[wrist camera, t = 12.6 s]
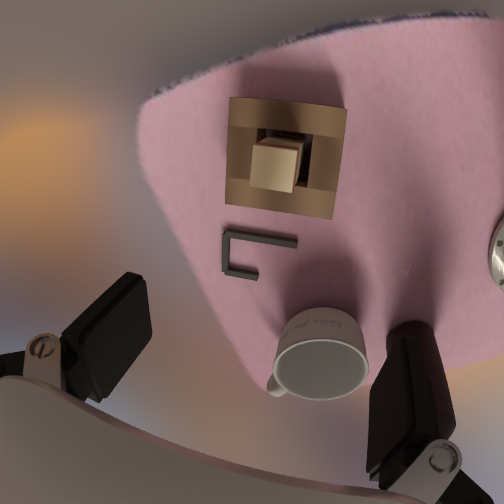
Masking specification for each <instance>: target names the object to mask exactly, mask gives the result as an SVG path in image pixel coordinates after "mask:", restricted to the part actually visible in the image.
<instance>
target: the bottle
mask: <svg viewBox="0 0 504 504" xmlns="http://www.w3.org/2000/svg"><path fill="white" fill-rule="evenodd" d="M403 335H406V336H412V337H418V338H419V341H420V345H421V350H422V355H423V360H424V366H425V371H426V376H429V377H430V378H431V381H432V387H433V393H434V399H435V405H436V412H437V420H438V428H439V437H440V439H445V440H448V439H449V437H450V436H451V434H452V433H453V431H454V429H455V427H456V420H455V415H454V410H453V405H452V401H451V397H450V392H449V388H448V383H447V379H446V375H445V372H444V368H443V364H442V360H441V357H440V353H439V350H438V346H437V343H436V339H435V336H434V333H433V330H432V328H431V327H430V326H429V325H428V324H426V323H424V322H422V321H409V322H406V323H403V324H401V325H399V326H397V327H396V328H395V329H393V330H392V332H391V333H390V334H389V336H388V338H387V341H386V350H387V357H388V355H389V353H390V351H391V349H392V347H393V345H394V343H395V341H396V339H397V338H399V339H401V337H402V336H403Z"/></svg>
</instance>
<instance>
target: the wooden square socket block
mask: <svg viewBox="0 0 504 504" xmlns="http://www.w3.org/2000/svg"><path fill="white" fill-rule="evenodd" d="M346 117H347V109H345V108H339V107H332V106H326V105H318V104H311V103H302V102H293V101H284V100H272V99H259V98H242V97H230V102H229V121H228V141H227V163H226V188H225V204H229V205H237V206H244V207H251V208H258V209H265V210H272V211H279V212H285V213H292V214H298V215H305V216H311V217H317V218H323V219H329V220H332V216H333V210H334V204H335V197H336V191H337V185H338V178H339V171H340V164H341V157H342V150H343V142H344V134H345V126H346ZM267 129H274V130H283V131H292V132H300V133H308V134H313V141H312V151H311V159H310V168H309V176H304V175H299V177H298V179H297V181H296V184H295V186H294V189H293V191H292V193H288V192H282V191H276V190H270V189H263V188H257V187H250V176H251V165H252V154H253V145H254V144H255V143H257V142H259V141H261V140H263V139H265V138H266V132H267Z"/></svg>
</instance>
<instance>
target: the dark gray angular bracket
mask: <svg viewBox="0 0 504 504" xmlns="http://www.w3.org/2000/svg"><path fill="white" fill-rule="evenodd" d="M230 238H234V239H241V240H247V241H253V242H259V243H265V244H271V245H277V246H283V247H290V248H297V243H298V240H294V239H288V238H282V237H275V236H269V235H263V234H257V233H250V232H244V231H237V230H231V229H227V230H226V231H224V233H223V235H222V272H225V273H224V275H228V276H233V277H239V278H244V279H250V280H255V281H257V280H258V276H259V273H257V272H251V271H246V270H240V269H235V268H229V256H230Z"/></svg>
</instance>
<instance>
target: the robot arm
mask: <svg viewBox="0 0 504 504" xmlns="http://www.w3.org/2000/svg"><path fill="white" fill-rule="evenodd" d="M488 261H489V270H490V273H491V276H492V278H493V280H494V282H495V283H496V285H497V286H498V287H499V288H500V289H501V290H502V291H503V292H504V217H503V218H502V220H501V221H500V223H499V224H498V226H497V228H496V230H495V232H494V235H493V238H492V240H491V244H490V249H489V258H488ZM61 334H62V336H61V337H60V338H58V337H57V336H55V335H54V334H50V333H43V334H39V335H37V336H35V337H34V338H32V339H31V340H30V341H29V343H28V344H27V347H26V350H25V351H20V352H14V353H8V354H2V355H0V504H494V502H493V500H492V498H491V497H490V496H489V495H488V494H487V493H486V492H485V491H484V490H482V489H481V488H480V487H479V486H478V485H477V484H476V483H475V482H474V481H473V480H471V479H470V478H469V477H468V476H467V475H466V474H465V473H464V472H463V471H462V470H461V469H460V467H461V465H462V455H461V452H460V450H459V448H458V447H457V446H456V445H455V444H454V443H452V442H451V441H448V440H445V439H440V437H439V428H438V420H437V412H436V405H435V399H434V393H433V387H432V381H431V378H430V377H429V376H426V371H425V366H424V360H423V355H422V350H421V345H420V341H419V338H418V337H412V336H406V335H403V336H402V337H401V339H399V338H397V339H396V341H395V343H394V345H393V347H392V349H391V351H390V353H389V355H388V357H387V359H386V361H385V362H384V364H383V366H382V368H381V370H380V372H379V374H378V376H377V378H376V379H375V381H374V383H373V385H372V387H371V390H370V396H369V430H368V449H367V463H366V472H367V473H370V481H379V488H380V490H378V489H370V488H364V487H355V486H347V485H339V484H332V483H325V482H319V481H313V480H307V479H302V478H296V477H291V476H286V475H281V474H276V473H272V472H268V471H263V470H259V469H255V468H251V467H248V466H244V465H240V464H237V463H233V462H229V461H226V460H222V459H219V458H216V457H213V456H209V455H206V454H204V453H200V452H198V451H195V450H192V449H189V448H186V447H183V446H181V445H178V444H175V443H173V442H170V441H168V440H165V439H163V438H160V437H158V436H155V435H153V434H150V433H148V432H146V431H143V430H141V429H139V428H136V427H134V426H131V425H130V424H128V423H125V422H123V421H121V420H119V419H117V418H115V417H113V416H111V415H109V414H107V413H105V412H103V411H101V410H99V409H96V408H95V407H92V406H91V405H89V404H87V403H85V400H86V399H87V398H90V399H92V400H94V401H95V402H97V403H100V402H101V400H102V399H103V398H107V397H108V396H109V395H110V393H111V392H112V391H113V389H114V387H115V386H116V385H117V384H118V382H119V381H120V379H121V378H122V377H123V376H124V374H125V373H126V372H127V370H128V369H129V368H130V366H131V365H132V364H133V362H134V361H135V360H136V358H137V357H138V355H139V354H140V353H141V351H142V350H143V349H144V348H145V346H146V345H147V344H148V342H149V341H150V339H151V337H152V327H151V319H150V312H149V304H148V295H147V287H146V282H145V280H143V277H142V276H141V275H138V274H135V273H132V272H126V273H125V274H124V275H123V276H122V277H120V278H119V279H118V280H117V281H116V282H115V283H114V284H113V285H112V286H111V287H109V288H108V289H107V290H106V291H105V292H104V293H103V294H102V295H101V296H100V297H99V298H98V299H97V300H96V301H94V302H93V303H92V304H91V305H90V306H89V307H88V308H87V309H86V310H85V311H84V312H83V313H82V314H81V315H80V316H79V317H78V318H77V319H75V320H74V322H72V323H71V324H70V325H69V326H68V327H67V328H66V329H65V330H64V331H63V332H62V333H61Z"/></svg>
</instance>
